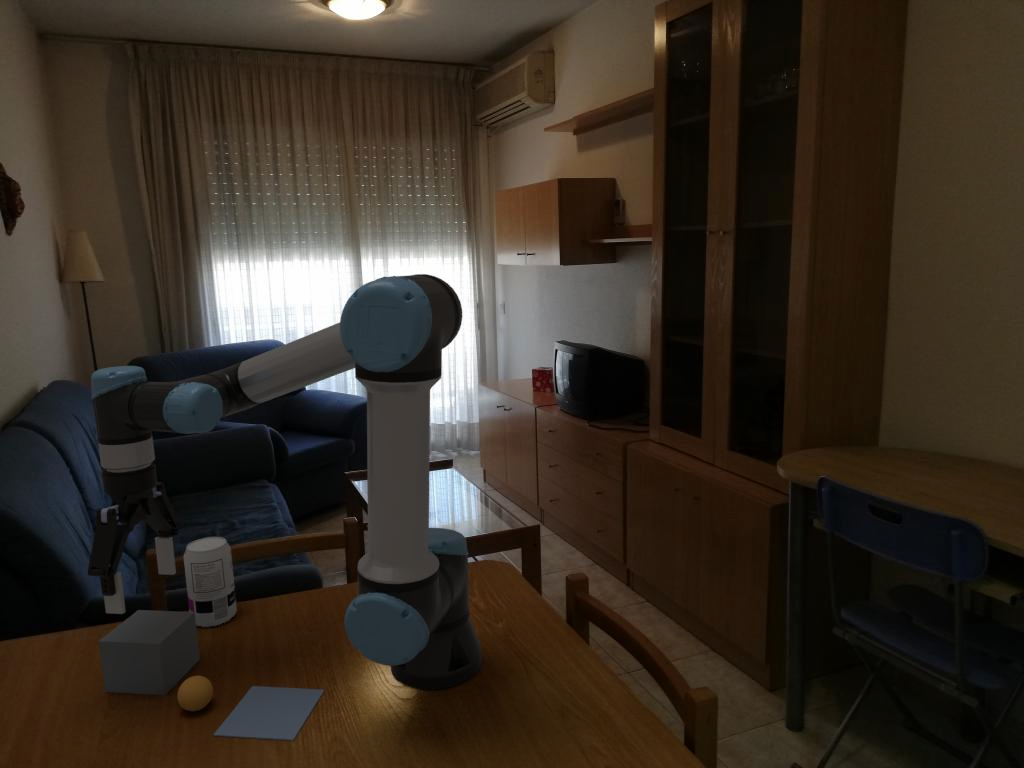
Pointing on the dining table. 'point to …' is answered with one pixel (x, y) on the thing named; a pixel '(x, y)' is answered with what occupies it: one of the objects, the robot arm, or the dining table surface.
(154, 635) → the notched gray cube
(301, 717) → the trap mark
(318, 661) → the dining table surface
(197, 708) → the ball
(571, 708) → the dining table surface
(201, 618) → the supplement can
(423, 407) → the robot arm
